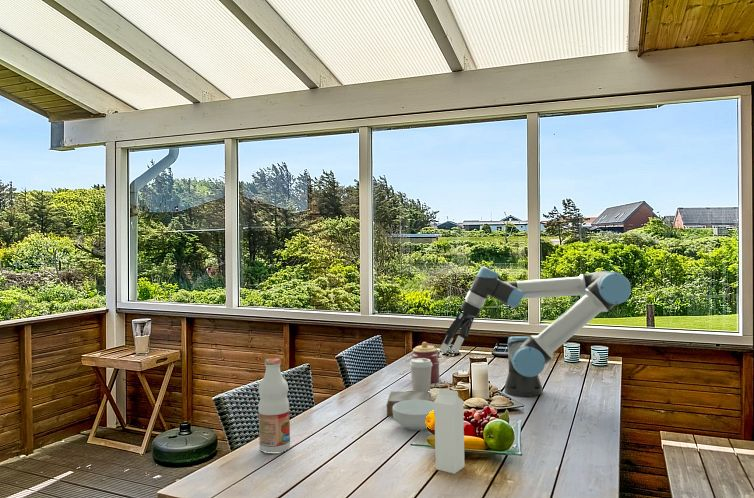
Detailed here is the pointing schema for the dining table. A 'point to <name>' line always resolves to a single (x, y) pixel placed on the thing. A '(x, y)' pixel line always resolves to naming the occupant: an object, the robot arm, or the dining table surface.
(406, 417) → the cereal bowl
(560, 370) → the dining table surface
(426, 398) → the grey flat block
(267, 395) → the fruit juice
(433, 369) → the canister
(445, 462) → the milk
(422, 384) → the coffee cup
